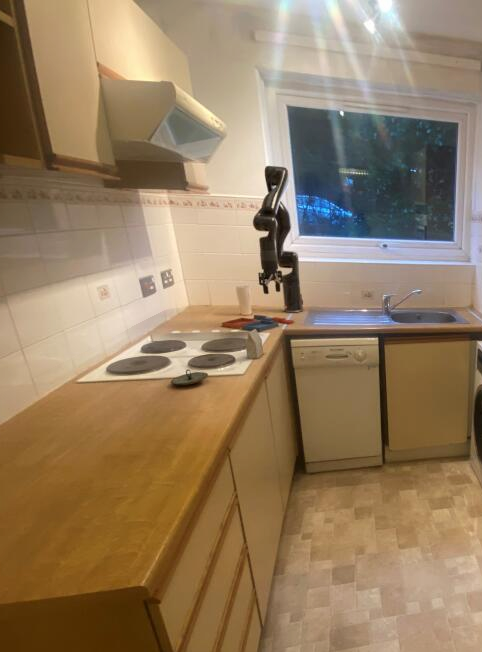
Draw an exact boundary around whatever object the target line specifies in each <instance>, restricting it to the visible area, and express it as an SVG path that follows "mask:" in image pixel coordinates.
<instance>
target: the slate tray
mask: <svg viewBox="0 0 482 652" xmlns="http://www.w3.org/2000/svg"><path fill="white" fill-rule="evenodd" d="M277 327H279V322H274V321H264V320H258V321H257V322H253V323H250V324H246V325H242V328H241V329H242V330H243V331H250V332H251V331H252V330H254V329H256V331H257V332H259V333H260V332H264V331H267V330H271V329H273V328H277Z"/></svg>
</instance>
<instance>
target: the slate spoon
mask: <svg viewBox="0 0 482 652" xmlns="http://www.w3.org/2000/svg"><path fill="white" fill-rule="evenodd" d="M273 318H274V317H271V316H267V315H262V314H253V319H256V320H258V321H261V320H264V321H271V322H274V321H273Z"/></svg>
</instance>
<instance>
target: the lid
mask: <svg viewBox="0 0 482 652" xmlns="http://www.w3.org/2000/svg"><path fill="white" fill-rule="evenodd" d="M188 372H189V373H188ZM208 376H209V374H208V373H207V372H203V371H195V372H194V371H193V372H191V370H190V369H186V370H185V374H181V375H179V376H176V377H174V378H172V379H171V381H170V384H171V385H174V386H189V385H193V384H197V383H200V382H202V381H203V380H205V379H207V378H208Z"/></svg>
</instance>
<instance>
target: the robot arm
mask: <svg viewBox="0 0 482 652" xmlns="http://www.w3.org/2000/svg"><path fill="white" fill-rule="evenodd" d="M264 167H265V168H264V180H265V184H266V189H267V194H266V195H265V196H264V198H263V200H262V203H261V207H260V208H259V210H258V211H257V212H256V213H255V215H254V217H253V219H252V226H253V228H254V229H255V231H257V232H267V235H266V236H265V235H264V236H261V237H259V239H258V242H259V257H260V267H261V270H262V271H263V272H258V273H257V274H258V284H259V286H261V287H262V291H263V294H264V295H269V293H270V292H269V284H270V283H271V282H273V283H275V284H274V286H275V292H277V293H280V292H281V285H282V295H283V309H284V312H286V313H299V312H302V311H303V310H304V308H303V306H304V299H303V295H302V294H303V293H301V283H300V282H301V281H300V265H299V254H298V252H297V251H293V250H284V244H285V242H286V239H287V237H288V235H289V234H290V232H291V229H292V217H291V214H290V211H289V209H288V208H287V206H286V205H285V204H284V202H283V199H282V198H283V197H284V195H285V193H286V192H287V189H288V187H289V184H290V181H291V177H290V172H289V170H288V168H287V167H285V166H277V165H266V166H264ZM279 268H280V269H291V271H290V272H288V273H286V274H283V272H282V270H279Z"/></svg>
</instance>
